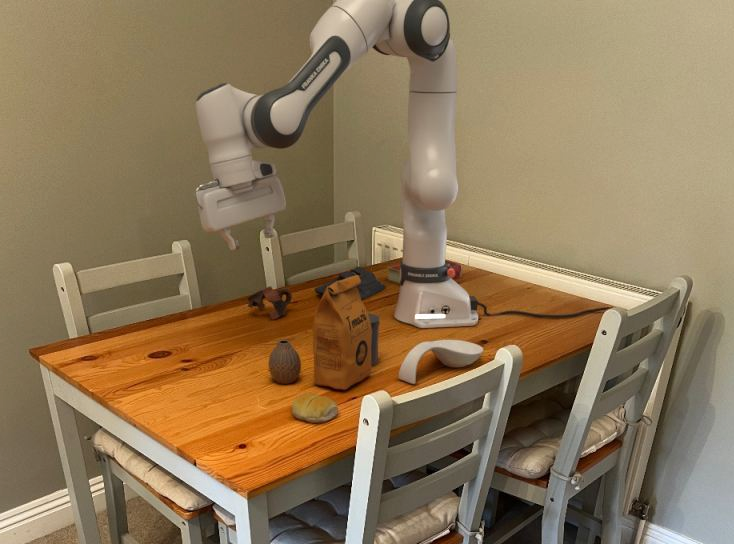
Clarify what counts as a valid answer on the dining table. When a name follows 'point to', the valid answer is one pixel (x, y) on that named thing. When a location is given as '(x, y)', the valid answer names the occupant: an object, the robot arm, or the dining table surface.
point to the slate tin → (374, 337)
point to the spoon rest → (440, 356)
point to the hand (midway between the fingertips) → (252, 243)
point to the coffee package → (341, 336)
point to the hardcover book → (395, 271)
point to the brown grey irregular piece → (271, 300)
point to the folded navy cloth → (365, 288)
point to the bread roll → (314, 408)
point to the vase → (284, 363)
